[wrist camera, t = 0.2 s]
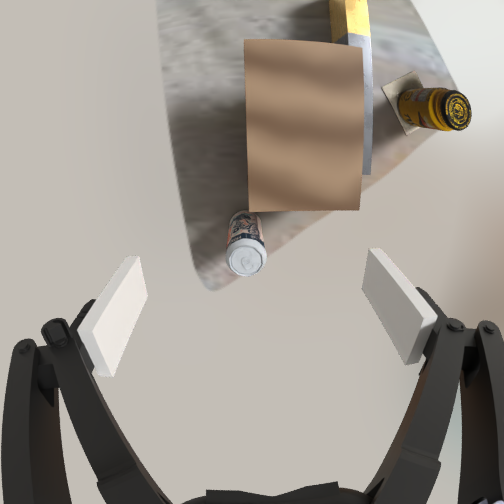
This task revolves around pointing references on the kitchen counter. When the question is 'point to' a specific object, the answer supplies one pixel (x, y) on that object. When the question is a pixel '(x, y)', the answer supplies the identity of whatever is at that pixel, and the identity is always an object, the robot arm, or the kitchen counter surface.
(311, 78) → the small brown wooden table
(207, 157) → the kitchen counter surface
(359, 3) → the two-tone wooden bar
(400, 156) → the kitchen counter surface
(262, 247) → the beer can
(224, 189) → the kitchen counter surface
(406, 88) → the condiment
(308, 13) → the kitchen counter surface
